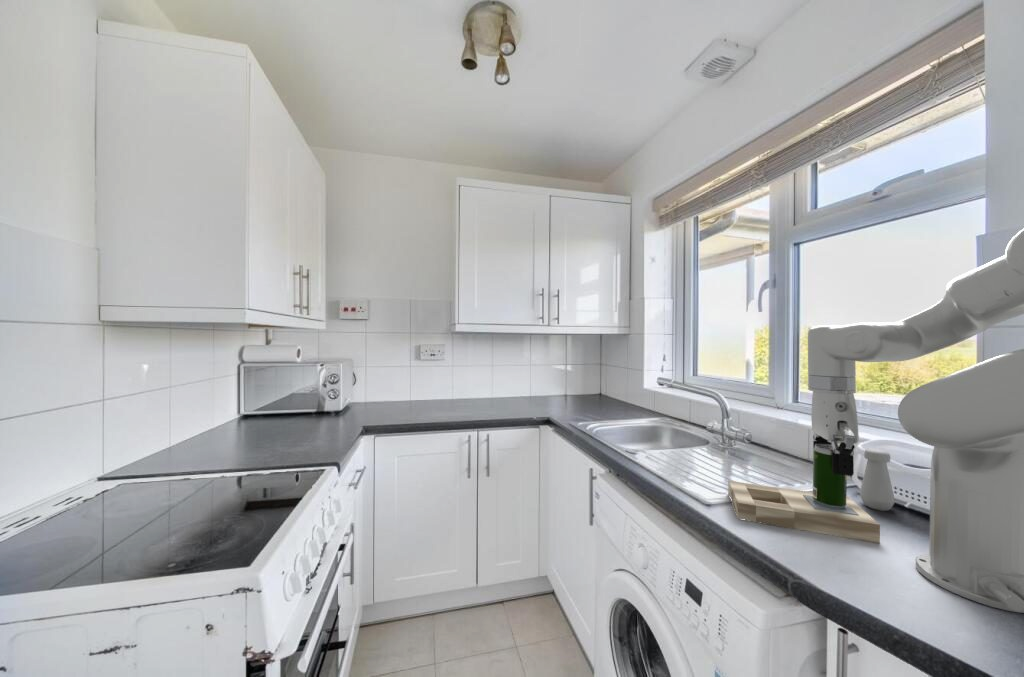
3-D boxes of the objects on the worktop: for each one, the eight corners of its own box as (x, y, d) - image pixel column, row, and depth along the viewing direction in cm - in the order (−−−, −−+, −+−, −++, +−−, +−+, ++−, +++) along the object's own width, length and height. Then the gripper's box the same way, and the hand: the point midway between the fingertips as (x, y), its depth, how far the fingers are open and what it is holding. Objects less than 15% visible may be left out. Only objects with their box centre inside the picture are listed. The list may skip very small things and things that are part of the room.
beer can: (821, 508, 75) (822, 449, 75) (807, 497, 81) (807, 442, 80) (852, 511, 74) (853, 451, 74) (835, 499, 79) (836, 444, 79)
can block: (879, 543, 69) (880, 523, 69) (738, 519, 78) (738, 501, 78) (848, 512, 81) (848, 496, 81) (728, 495, 90) (728, 479, 90)
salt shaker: (889, 504, 85) (890, 448, 85) (899, 515, 81) (900, 455, 80) (855, 499, 88) (856, 444, 88) (863, 508, 83) (863, 451, 83)
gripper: (876, 390, 68) (877, 483, 67) (836, 381, 84) (836, 457, 83) (825, 388, 71) (826, 478, 70) (795, 380, 87) (796, 453, 86)
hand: (832, 466), depth 77 cm, fingers open, 9 cm apart
